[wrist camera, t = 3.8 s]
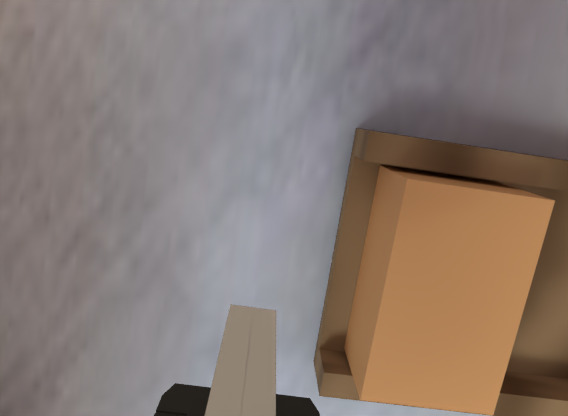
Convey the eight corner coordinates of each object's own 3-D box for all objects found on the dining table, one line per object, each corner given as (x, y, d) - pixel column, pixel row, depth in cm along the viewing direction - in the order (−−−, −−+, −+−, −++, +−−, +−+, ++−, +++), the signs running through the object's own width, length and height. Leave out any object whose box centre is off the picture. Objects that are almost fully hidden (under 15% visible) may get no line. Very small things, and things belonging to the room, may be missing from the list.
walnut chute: (313, 361, 28) (319, 395, 25) (356, 128, 25) (369, 131, 22) (633, 399, 30) (680, 437, 26) (712, 182, 26) (777, 193, 23)
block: (344, 347, 27) (360, 400, 22) (379, 165, 25) (407, 179, 20) (453, 361, 27) (493, 415, 23) (499, 182, 25) (554, 200, 20)
